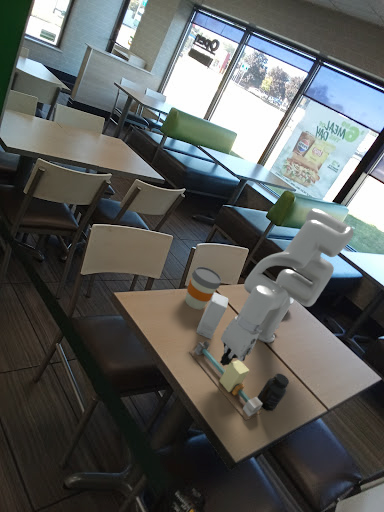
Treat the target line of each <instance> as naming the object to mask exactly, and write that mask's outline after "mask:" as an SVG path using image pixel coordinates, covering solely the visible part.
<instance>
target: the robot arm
mask: <svg viewBox="0 0 384 512" xmlns="http://www.w3.org/2000/svg"><path fill="white" fill-rule="evenodd" d="M304 222H305V223H303V225H302V226H301V227H300V229H299V231H298V232H296V235H295V236H294V237H293V238H292V240H291V241H290V242H289V244H288V245H287V246H286V248H285V249H284V251H281V252H280V251H279V252H277V253H273V254H270V255H268V256H266V257H264V258H263V259H261V260H260V261H259V262H258V263H257V264H256V265H255V266H254V267H253V269H252V270H251V272H250V273H249V274H248V276H247V277H246V279H245V281H244V285H243V286H244V290H245V291H246V292H247V293H248V294H249V295H248V297H247V299H246V300H245V302H244V304H243V306H242V308H241V309H240V311H239V313H238V314H237V315H236V316H235V317H234V318H233V319H231V321H230V322H229V323H228V325H227V326H226V328H225V329H224V331H223V332H222V335H221V338H220V340H221V342H222V344H223V348H224V349H223V355H222V356H221V359H220V361H219V364H220V365H221V366H222V367H224V366H228V365H229V363H231V362H233V359H237V360H239V361H241V362H242V363H243V362H244V361H245V360H246V356H247V357H248V356H249V355H250V354H252V351H253V349H254V347H255V345H256V344H257V343H256V342H257V341H261V342H263V343H268V344H269V343H272V342H273V341H274V340H275V338H276V336H275V332H276V330H277V329H280V324H281V322H282V320H283V319H284V317H285V315H286V314H287V312H288V311H289V309H290V307H291V305H290V297H291V298H293V299H294V301H296V302H297V303H299V304H301V305H302V306H304V307H312V306H313V305H314V304H315V303H316V301H317V299H318V298H319V297H320V295H321V293H322V292H323V291H324V289H325V287H326V286H327V285H328V283H329V281H330V279H331V278H332V275H333V273H334V271H335V270H334V269H335V267H334V265H333V264H332V263H331V262H330V261H328V260H326V259H325V258H323V257H322V256H321V255H322V254H324V255H326V256H327V257H330V258H334V257H336V256H338V255H339V254H340V253H341V252H342V250H343V249H345V247H346V246H347V245H348V244H349V243H350V242H351V240H352V238H353V236H354V229H353V227H351V226H350V225H349V224H346V223H345V222H343V221H341V220H339V218H336V217H334V216H333V215H331V214H330V213H327V212H325V211H324V210H321V209H318V208H311V209H310V210H308V212H307V214H306V217H305V220H304ZM275 266H277V267H278V266H281V267H289V268H292V269H294V270H295V271H294V270H292V269H288V268H286V269H282V270H281V271H280V272H279V273H278V276H277V278H276V279H275V282H274V280H272V279H271V278H269V277H267V276H266V275H264V274H263V273H264V272H265V271H266V269H269V268H270V267H271V268H272V267H275Z"/></svg>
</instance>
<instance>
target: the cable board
mask: <svg viewBox="0 0 384 512" xmlns="http://www.w3.org/2000/svg"><path fill="white" fill-rule="evenodd" d="M210 345H211V344H210V342H208V341H207V340H204V341H203V342H202V341H200V342H198V344H197V345H196V347H195V349H193V350H190V351H188V352H189V354H190V355H191V357H192V358H193V359H194V360H195V361H196V363H197V364H198V365H199V367H201V368H202V370H203V371H204V372H205V373H206V375H207V376H208V377H209V378H210V379H211V381H212V382H213V383H214V384H215V386H216V387H217V388H218V389H219V390H220V392H223V393H222V394H223V395H224V396H225V397H226V398H227V400H228V401H229V402H230V404H232V406H233V407H234V408H235V410H236V411H237V412H238V413H239V415H241V417H242V418H243V419H244V420H245V421H247V420H249V419H251V418H253V417H255V416H258V415H259V414H261V413H262V411H261V410H260V409H261V408H262V407H261V406H262V402H261V401H260V400H259V399H258V398H257V397H258V396H255V397H252V398H250V397H249V396H248V395H247V393H246V392H245V391H244V390H243V389H244V388H245V385H244V383H241V384H240V385H235V386H234V390H233V391H231V392H228V391H227V390H226V388H225V387H224V386H223V385H222V384H221V383H220V381H219V380H220V379H221V377H222V375H223V374H224V372H225V370H226V368H224V366H223V365H222V364H221V363H220V362H218V360H217V359H216V358H215V357H214V356H213V355H212V353H211V352H210V351H209V350H208V349H209V347H210Z"/></svg>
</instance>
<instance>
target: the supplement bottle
mask: <svg viewBox="0 0 384 512" xmlns="http://www.w3.org/2000/svg"><path fill="white" fill-rule="evenodd" d="M289 384H290V381H289V379H288V378H287V376H286V375H284V374H283V373H279V372H278V373H276V374H275V375H274V376H273V377H271V378H269V379H268V380H267V381H266V383H265V384H264V386H263V387H262V389H261V390H260V392H259V393H258V394H257V396H256V397H257V398H258V399H259V400H260V401H261V402H262V406H261V407H260V408H262V409H263V410H265V411H268V412H273V411H275V409H276V408H277V406H279V404H280V403H281V401H282V400H283V398H284V397H285V395H286V394H287V392H288V391H287V387H288V386H289Z"/></svg>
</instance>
